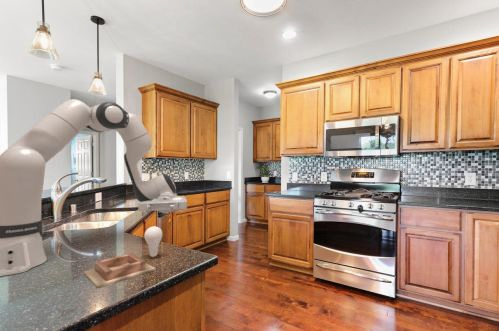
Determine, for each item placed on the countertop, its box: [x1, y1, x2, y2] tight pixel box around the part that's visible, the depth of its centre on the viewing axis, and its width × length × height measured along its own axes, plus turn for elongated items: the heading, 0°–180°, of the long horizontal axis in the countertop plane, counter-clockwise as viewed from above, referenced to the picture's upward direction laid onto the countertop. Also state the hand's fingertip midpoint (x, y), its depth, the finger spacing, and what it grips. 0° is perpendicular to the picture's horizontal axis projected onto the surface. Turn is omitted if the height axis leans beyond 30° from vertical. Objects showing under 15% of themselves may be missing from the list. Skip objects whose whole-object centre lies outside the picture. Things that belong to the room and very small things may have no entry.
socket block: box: [83, 253, 156, 289], centre depth 77 cm, size 16×14×3 cm
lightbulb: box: [143, 226, 163, 258], centre depth 90 cm, size 6×6×11 cm
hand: (160, 207), depth 102 cm, fingers open, 8 cm apart
